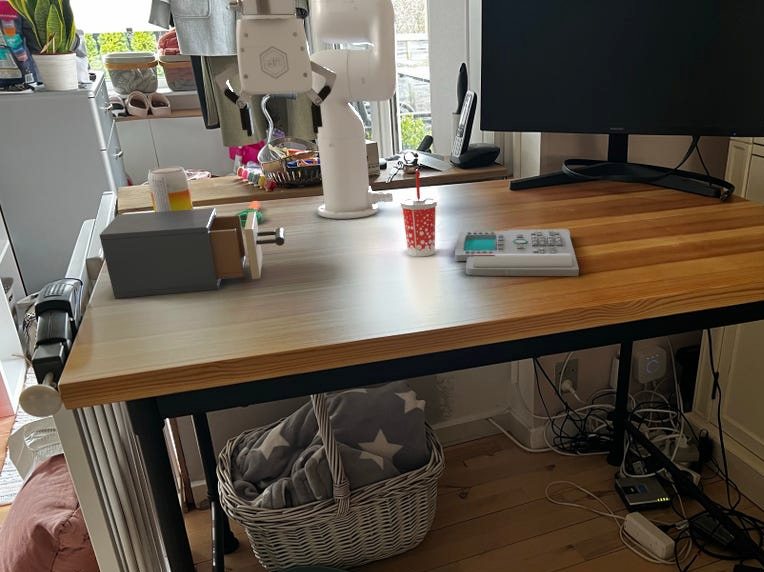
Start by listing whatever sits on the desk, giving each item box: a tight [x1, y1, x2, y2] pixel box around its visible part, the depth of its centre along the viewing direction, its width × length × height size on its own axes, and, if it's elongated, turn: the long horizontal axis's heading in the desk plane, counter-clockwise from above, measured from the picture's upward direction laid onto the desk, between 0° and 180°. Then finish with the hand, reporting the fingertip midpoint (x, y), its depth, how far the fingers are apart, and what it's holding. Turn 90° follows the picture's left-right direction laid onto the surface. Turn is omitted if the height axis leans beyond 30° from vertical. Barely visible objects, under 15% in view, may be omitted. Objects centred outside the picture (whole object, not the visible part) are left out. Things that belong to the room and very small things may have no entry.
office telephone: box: [454, 228, 580, 277], centre depth 123 cm, size 23×3×20 cm
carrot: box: [234, 200, 263, 227], centre depth 151 cm, size 15×6×2 cm, turn 7°
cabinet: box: [99, 207, 222, 299], centre depth 112 cm, size 15×13×10 cm
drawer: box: [209, 212, 286, 280], centre depth 114 cm, size 18×11×8 cm, turn 104°
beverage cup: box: [399, 169, 438, 258], centre depth 123 cm, size 6×6×14 cm
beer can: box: [147, 165, 194, 212], centre depth 122 cm, size 6×6×15 cm
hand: (283, 133), depth 110 cm, fingers open, 9 cm apart
